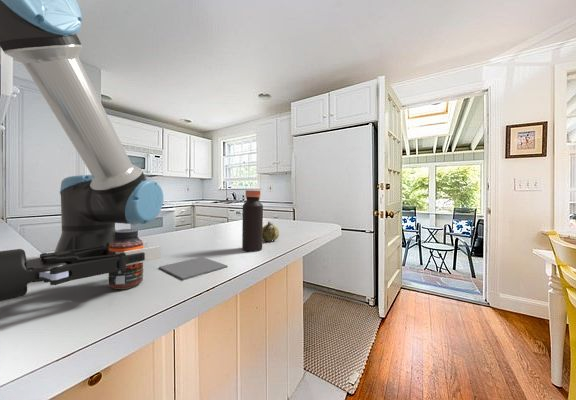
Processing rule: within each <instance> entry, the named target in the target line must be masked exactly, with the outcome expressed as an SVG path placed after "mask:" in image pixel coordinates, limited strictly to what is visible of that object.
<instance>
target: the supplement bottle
mask: <svg viewBox="0 0 576 400" xmlns="http://www.w3.org/2000/svg"><path fill="white" fill-rule="evenodd" d="M115 230H116V229H115ZM114 237H115V239H114V240H113V241H112V242H111V243H110V244H109V255H112V254H120V253H124V251H130V250H136V249H142V248H143V242H144V241H143V240H141V238H139V229H136V228H123V229H117V230H116V231H115V236H114ZM143 278H144V262H142V263H137V264H133V265H128V266H126V270H125V271H116V272H111V273H108V286H109V287H110V288H112V289H114V288H116V289H115V290H118V289H122V290H124V289H123V288H128V289H130V288H129V287H132V288H134V287H133V286H135V287H136V285H137V286H138V285H140V284H141V283H142V282H143V280H144V279H143Z"/></svg>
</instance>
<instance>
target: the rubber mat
mask: <svg viewBox="0 0 576 400" xmlns="http://www.w3.org/2000/svg"><path fill="white" fill-rule="evenodd" d="M158 268H159V270H162V271H164V272H166V273H168V274H170V275H171V276H174V277H176V278H178V279H180V280H182V281H185V280H189V279H192V278H195V277H199V276H201V275H206V274H209V273H212V272H216V271H219V270H222V269H223V270H224V269H225V268H226V269H227V268H228V264H224V263H221V262H218V261H215V260H212V259H209V258H207V257H204V256H201V257H195V258H192V259H187V260H182V261H178V262H174V263H170V264H165V265H160V266H158Z"/></svg>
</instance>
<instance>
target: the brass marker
mask: <svg viewBox="0 0 576 400" xmlns="http://www.w3.org/2000/svg"><path fill="white" fill-rule="evenodd" d="M136 286H137V287H138V285H136ZM136 286H133V287H129V288H123V289H116V288H113V289H114V290H119V291H120V290H128V289H132V288H135V287H136Z"/></svg>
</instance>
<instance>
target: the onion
mask: <svg viewBox="0 0 576 400" xmlns="http://www.w3.org/2000/svg"><path fill="white" fill-rule="evenodd" d="M279 236H280V230H279V228H278V227H277V226H276V225H275V224H274V223H273V222H271V221H267V224H266V225H263V234H262V241H265V242H268V241H269V242H273V241H272V240H274V241H276V240H278V238H279Z"/></svg>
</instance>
